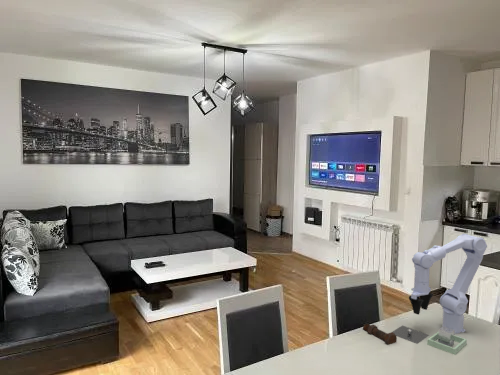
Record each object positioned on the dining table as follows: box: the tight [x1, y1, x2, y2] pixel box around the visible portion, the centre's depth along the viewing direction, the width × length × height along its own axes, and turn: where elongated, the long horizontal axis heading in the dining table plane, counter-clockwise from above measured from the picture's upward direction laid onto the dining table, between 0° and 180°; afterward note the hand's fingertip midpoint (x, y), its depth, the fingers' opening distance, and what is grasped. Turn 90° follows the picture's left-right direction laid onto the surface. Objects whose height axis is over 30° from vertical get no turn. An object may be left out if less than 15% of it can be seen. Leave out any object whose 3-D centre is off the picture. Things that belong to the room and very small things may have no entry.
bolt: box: [362, 323, 398, 345], centre depth 155 cm, size 6×5×15 cm
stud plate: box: [392, 325, 430, 345], centre depth 157 cm, size 12×12×3 cm
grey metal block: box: [437, 325, 455, 347], centre depth 148 cm, size 4×4×6 cm
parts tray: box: [426, 330, 468, 355], centre depth 148 cm, size 12×10×3 cm
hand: (420, 311), depth 158 cm, fingers open, 7 cm apart
